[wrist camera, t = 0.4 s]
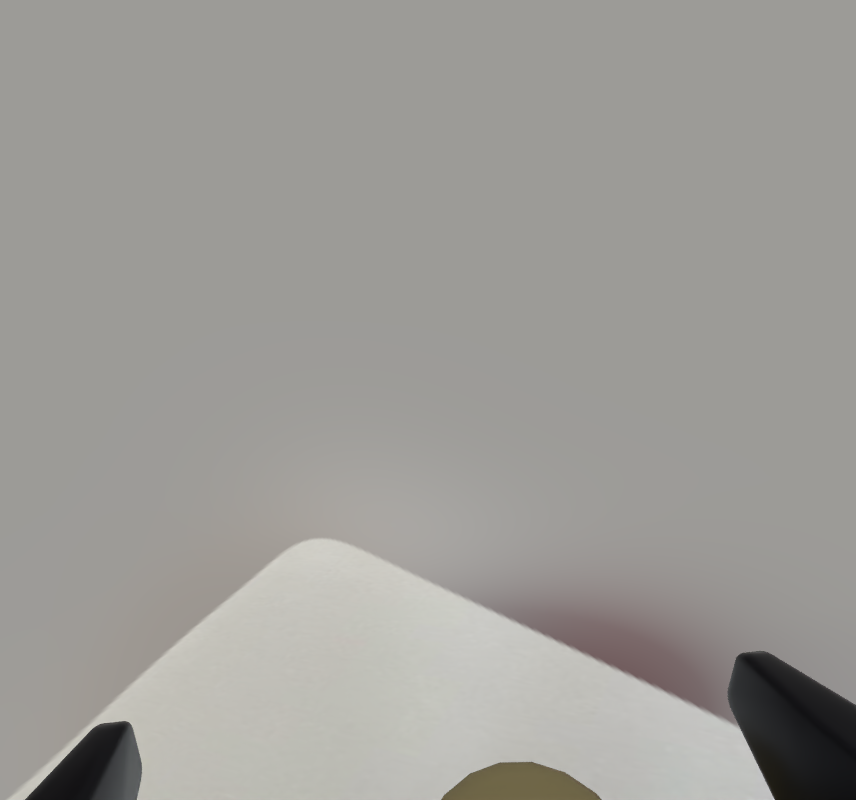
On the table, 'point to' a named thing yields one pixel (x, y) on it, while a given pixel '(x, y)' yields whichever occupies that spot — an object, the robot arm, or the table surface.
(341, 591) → the table surface
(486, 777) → the pepper shaker
